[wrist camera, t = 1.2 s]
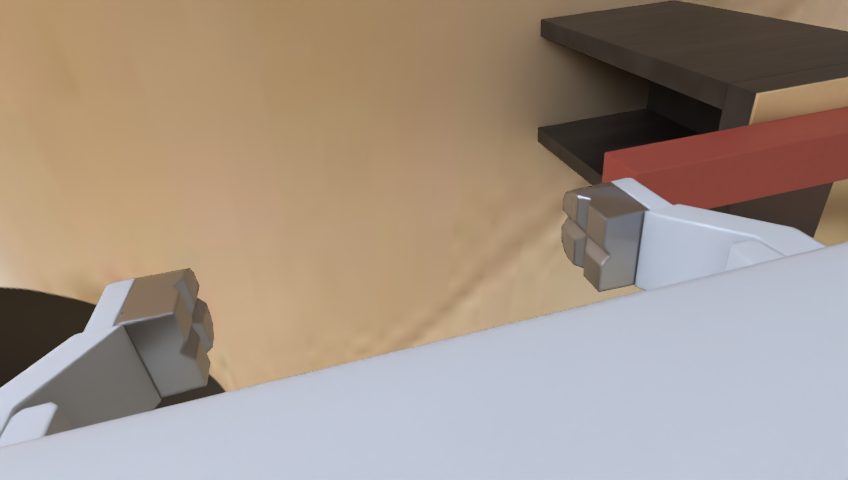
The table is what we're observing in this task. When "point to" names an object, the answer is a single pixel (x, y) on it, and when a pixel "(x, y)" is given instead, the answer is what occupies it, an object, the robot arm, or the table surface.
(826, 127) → the red block
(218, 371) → the table surface
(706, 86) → the stand
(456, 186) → the table surface
